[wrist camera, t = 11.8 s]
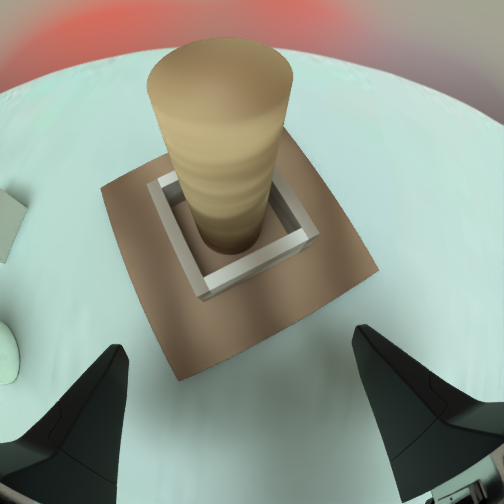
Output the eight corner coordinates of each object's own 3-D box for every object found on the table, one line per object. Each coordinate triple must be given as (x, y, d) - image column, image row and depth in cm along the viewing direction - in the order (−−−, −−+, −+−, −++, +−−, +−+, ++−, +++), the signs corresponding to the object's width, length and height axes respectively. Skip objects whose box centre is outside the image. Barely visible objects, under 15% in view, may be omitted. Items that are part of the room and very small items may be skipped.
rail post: (241, 266, 19) (245, 145, 6) (186, 235, 19) (118, 95, 7) (272, 214, 20) (314, 61, 7) (220, 186, 20) (204, 29, 8)
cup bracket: (182, 379, 17) (167, 390, 14) (105, 193, 21) (84, 169, 17) (373, 272, 20) (399, 260, 16) (270, 119, 23) (275, 88, 20)
